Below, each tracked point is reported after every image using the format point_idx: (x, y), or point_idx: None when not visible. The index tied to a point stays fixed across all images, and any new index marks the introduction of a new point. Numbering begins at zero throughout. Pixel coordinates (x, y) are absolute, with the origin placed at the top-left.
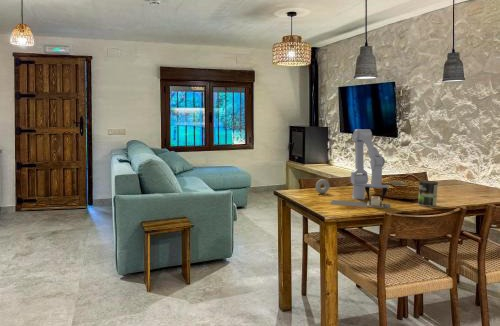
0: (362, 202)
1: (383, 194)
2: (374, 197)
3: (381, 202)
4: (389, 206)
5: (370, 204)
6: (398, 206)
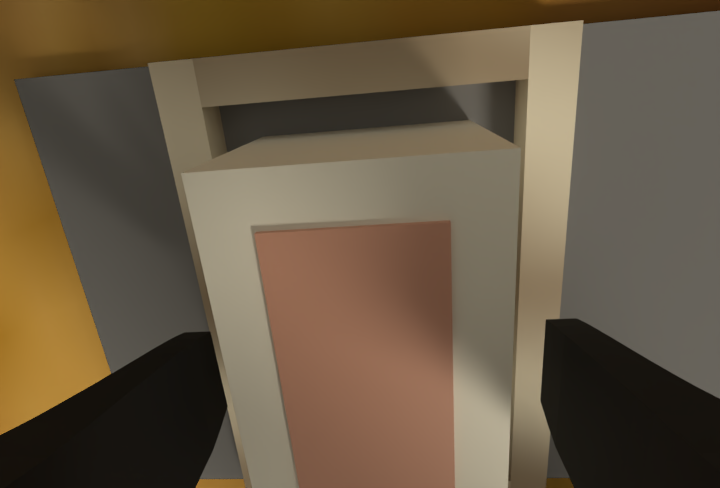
0: None
1: (11, 452)
2: (406, 407)
3: None
4: (103, 288)
5: None
6: (10, 403)
